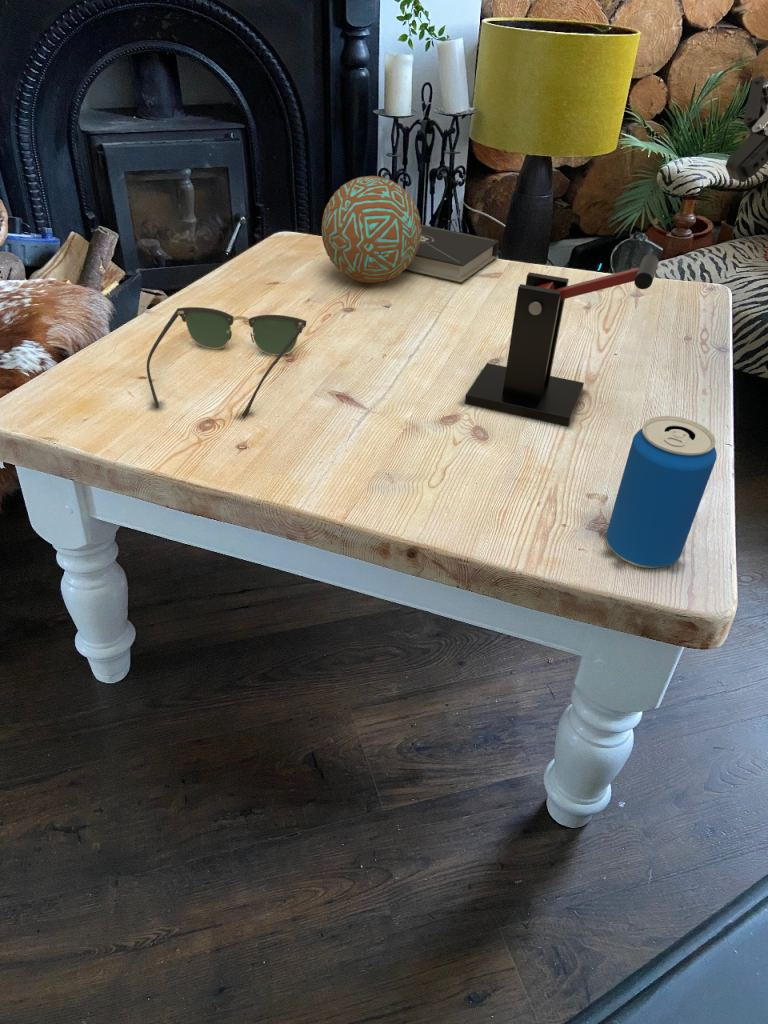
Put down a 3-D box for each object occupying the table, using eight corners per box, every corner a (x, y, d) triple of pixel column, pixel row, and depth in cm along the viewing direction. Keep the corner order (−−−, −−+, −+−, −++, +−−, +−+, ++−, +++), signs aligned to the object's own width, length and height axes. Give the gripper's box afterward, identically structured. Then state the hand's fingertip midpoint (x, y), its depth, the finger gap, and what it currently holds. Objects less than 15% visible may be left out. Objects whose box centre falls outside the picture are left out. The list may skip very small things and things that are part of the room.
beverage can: (687, 543, 67) (730, 428, 59) (667, 584, 62) (711, 465, 55) (617, 518, 69) (650, 405, 62) (593, 555, 65) (625, 438, 58)
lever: (660, 271, 77) (656, 248, 76) (654, 290, 72) (649, 266, 71) (537, 303, 84) (532, 282, 83) (525, 322, 79) (519, 301, 78)
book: (497, 257, 126) (500, 239, 124) (461, 284, 116) (463, 265, 114) (386, 234, 134) (387, 216, 133) (343, 256, 124) (343, 238, 122)
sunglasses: (128, 405, 83) (120, 364, 80) (183, 341, 96) (178, 304, 93) (272, 421, 81) (269, 380, 78) (308, 354, 94) (307, 317, 91)
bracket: (582, 391, 89) (607, 278, 81) (568, 426, 82) (593, 307, 74) (485, 371, 92) (500, 260, 84) (464, 403, 86) (478, 287, 77)
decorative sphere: (377, 306, 108) (380, 197, 99) (302, 280, 115) (298, 176, 106) (437, 279, 117) (445, 178, 108) (364, 256, 124) (366, 160, 115)
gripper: (952, 67, 66) (796, 220, 69) (830, 49, 75) (699, 184, 79) (940, -8, 61) (773, 162, 64) (812, -17, 70) (673, 131, 74)
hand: (733, 174), depth 72 cm, fingers closed
